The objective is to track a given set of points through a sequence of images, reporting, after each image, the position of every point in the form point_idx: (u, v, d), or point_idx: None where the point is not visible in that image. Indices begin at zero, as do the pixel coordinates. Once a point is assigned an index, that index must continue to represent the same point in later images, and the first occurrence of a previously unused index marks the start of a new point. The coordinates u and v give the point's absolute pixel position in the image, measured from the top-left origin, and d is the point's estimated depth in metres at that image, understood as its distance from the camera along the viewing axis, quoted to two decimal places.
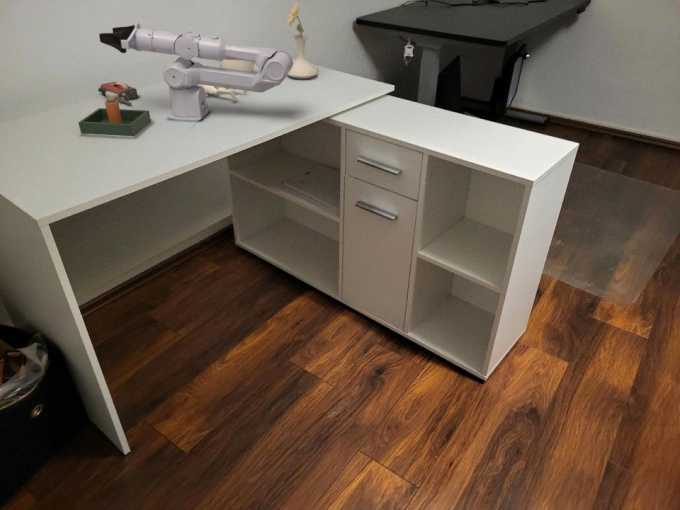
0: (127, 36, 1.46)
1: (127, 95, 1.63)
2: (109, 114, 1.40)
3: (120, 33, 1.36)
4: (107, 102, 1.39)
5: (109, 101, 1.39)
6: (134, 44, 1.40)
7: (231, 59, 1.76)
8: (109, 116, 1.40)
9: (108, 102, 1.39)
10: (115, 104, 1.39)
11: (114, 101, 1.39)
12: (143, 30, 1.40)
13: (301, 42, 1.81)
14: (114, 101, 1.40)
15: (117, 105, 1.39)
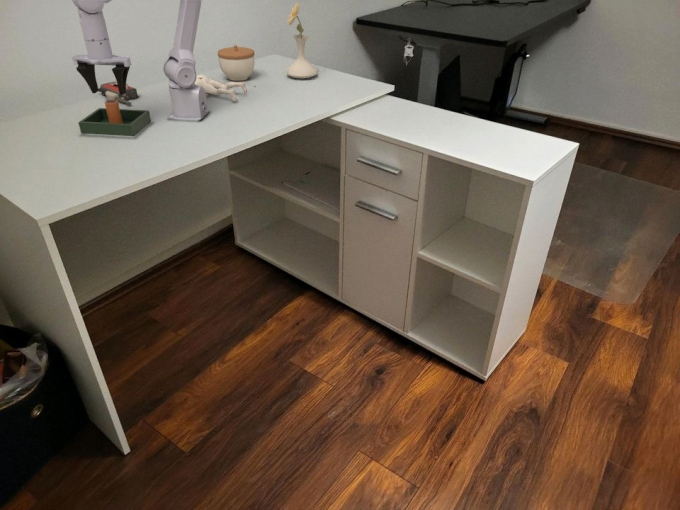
0: (93, 76, 1.37)
1: (127, 95, 1.63)
2: (109, 114, 1.40)
3: (121, 70, 1.32)
4: (107, 102, 1.39)
5: (109, 101, 1.39)
6: None
7: (231, 59, 1.76)
8: (109, 116, 1.40)
9: (108, 102, 1.39)
10: (115, 104, 1.39)
11: (114, 101, 1.39)
12: (97, 52, 1.30)
13: (301, 42, 1.81)
14: (114, 101, 1.40)
15: (117, 105, 1.39)
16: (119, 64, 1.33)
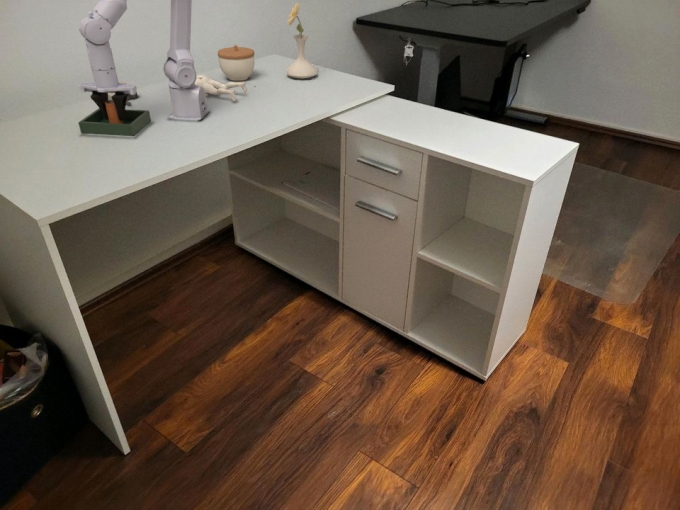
0: None
1: None
2: (109, 114, 1.40)
3: (120, 97, 1.36)
4: (107, 102, 1.39)
5: (109, 101, 1.39)
6: (120, 85, 1.37)
7: (231, 59, 1.76)
8: (109, 116, 1.40)
9: (109, 102, 1.39)
10: None
11: None
12: (104, 81, 1.34)
13: (301, 42, 1.81)
14: None
15: None
16: (118, 92, 1.37)
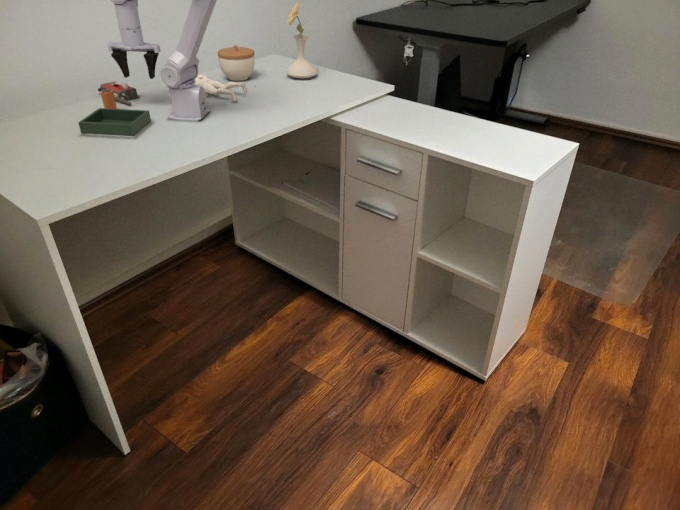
0: (125, 61, 1.51)
1: (127, 95, 1.63)
2: (105, 103, 1.49)
3: (151, 55, 1.46)
4: (103, 91, 1.48)
5: (104, 90, 1.49)
6: (145, 45, 1.48)
7: (231, 59, 1.76)
8: (104, 105, 1.49)
9: (104, 91, 1.48)
10: (110, 93, 1.48)
11: (109, 90, 1.49)
12: (131, 40, 1.44)
13: (301, 42, 1.81)
14: (109, 90, 1.49)
15: (112, 94, 1.49)
16: (150, 50, 1.47)
